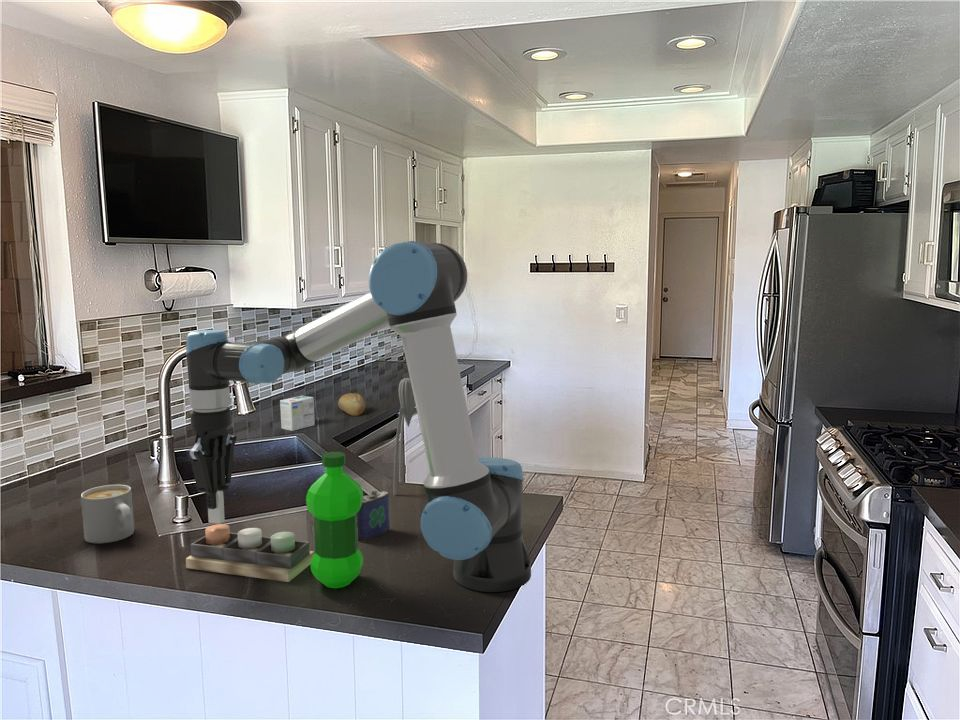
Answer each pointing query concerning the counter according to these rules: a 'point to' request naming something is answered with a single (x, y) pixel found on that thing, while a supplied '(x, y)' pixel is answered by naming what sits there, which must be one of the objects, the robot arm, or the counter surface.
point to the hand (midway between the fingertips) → (216, 521)
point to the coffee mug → (107, 513)
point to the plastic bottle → (335, 523)
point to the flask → (373, 516)
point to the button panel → (250, 559)
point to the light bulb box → (297, 413)
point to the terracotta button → (217, 534)
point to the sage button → (282, 542)
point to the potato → (352, 404)
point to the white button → (249, 538)
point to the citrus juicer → (407, 412)
